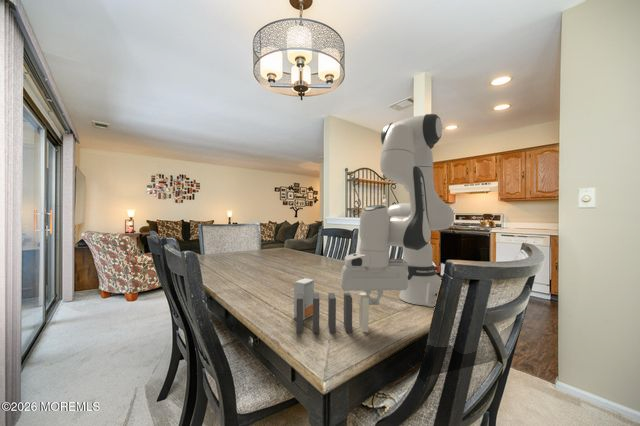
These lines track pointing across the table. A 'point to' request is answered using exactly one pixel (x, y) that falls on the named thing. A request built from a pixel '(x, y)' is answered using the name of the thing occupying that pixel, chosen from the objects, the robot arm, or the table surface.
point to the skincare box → (304, 296)
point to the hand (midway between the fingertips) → (373, 304)
